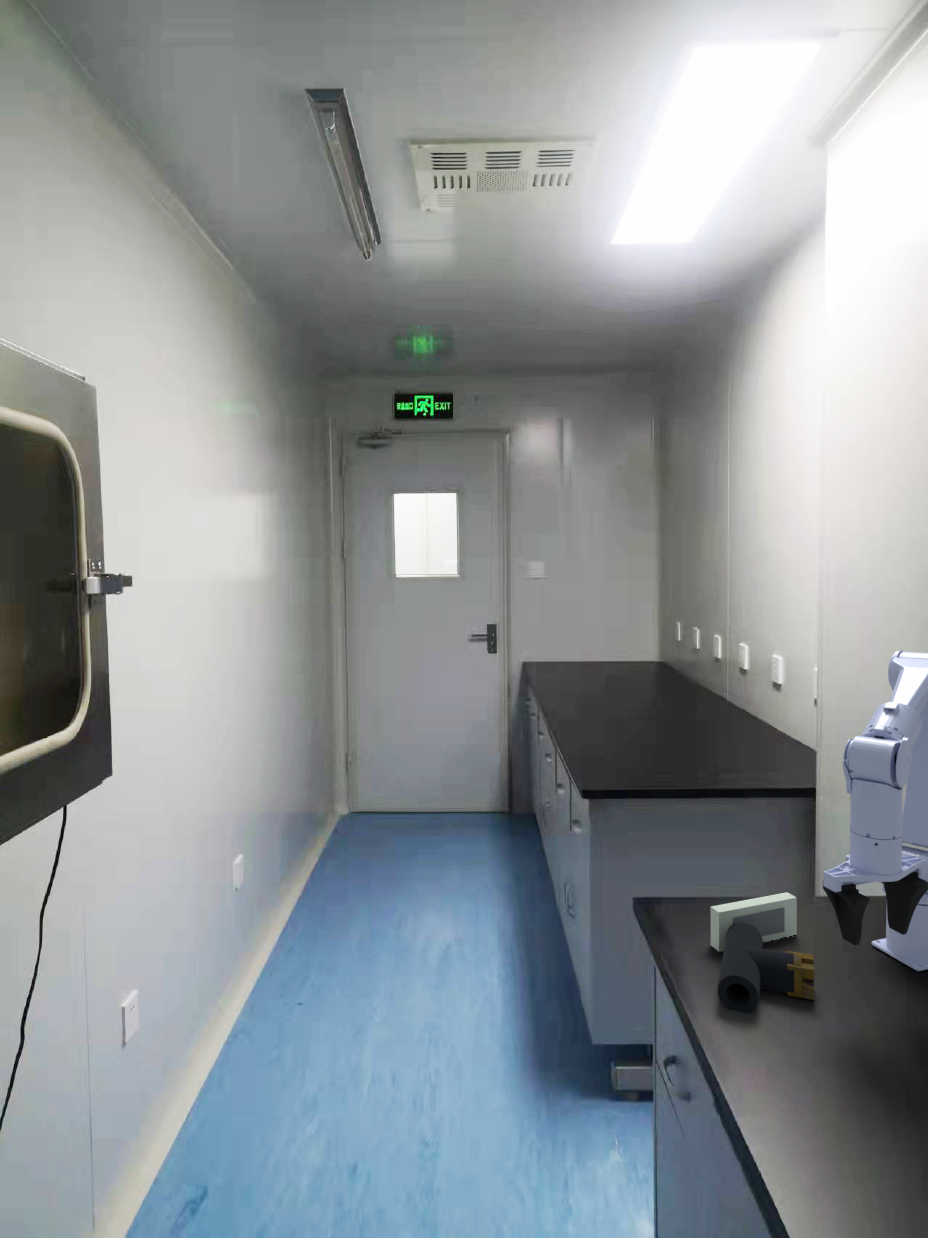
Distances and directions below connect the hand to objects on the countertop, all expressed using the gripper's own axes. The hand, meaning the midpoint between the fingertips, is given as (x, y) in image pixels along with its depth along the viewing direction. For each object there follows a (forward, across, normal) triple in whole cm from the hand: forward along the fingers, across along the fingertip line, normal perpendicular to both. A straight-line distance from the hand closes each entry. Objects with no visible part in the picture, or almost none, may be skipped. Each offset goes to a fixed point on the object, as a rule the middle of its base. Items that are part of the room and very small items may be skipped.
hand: (874, 936), depth 93 cm
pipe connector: (+10, +9, -8) cm, 16 cm away
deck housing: (+9, +3, -19) cm, 21 cm away
